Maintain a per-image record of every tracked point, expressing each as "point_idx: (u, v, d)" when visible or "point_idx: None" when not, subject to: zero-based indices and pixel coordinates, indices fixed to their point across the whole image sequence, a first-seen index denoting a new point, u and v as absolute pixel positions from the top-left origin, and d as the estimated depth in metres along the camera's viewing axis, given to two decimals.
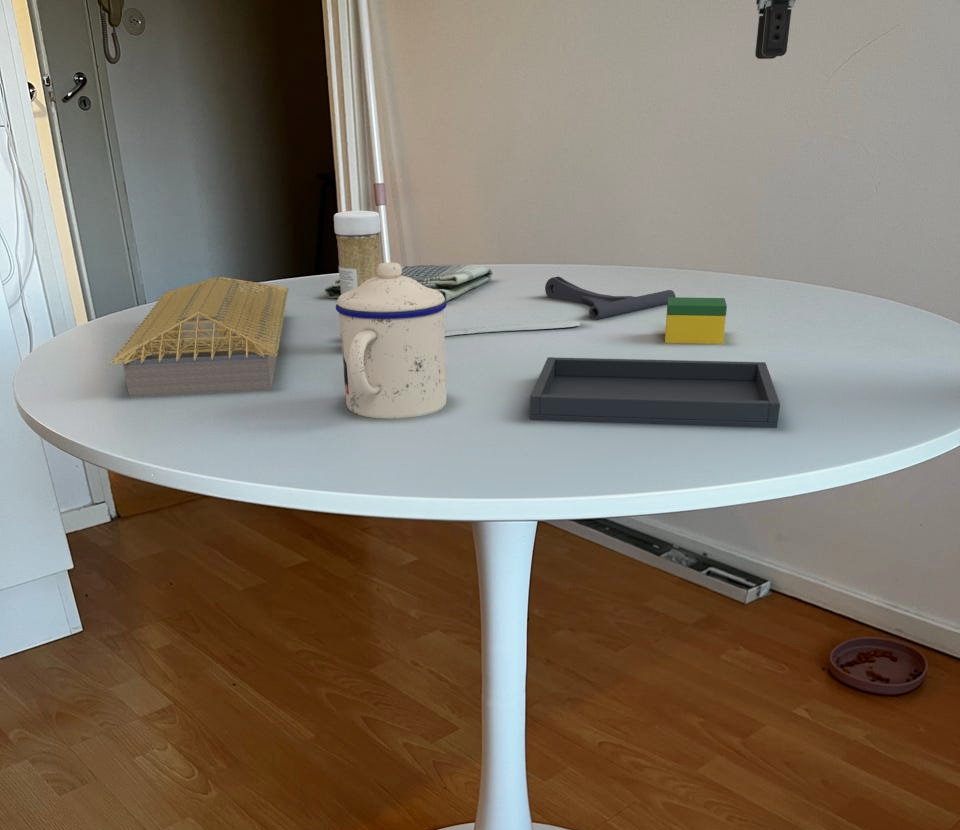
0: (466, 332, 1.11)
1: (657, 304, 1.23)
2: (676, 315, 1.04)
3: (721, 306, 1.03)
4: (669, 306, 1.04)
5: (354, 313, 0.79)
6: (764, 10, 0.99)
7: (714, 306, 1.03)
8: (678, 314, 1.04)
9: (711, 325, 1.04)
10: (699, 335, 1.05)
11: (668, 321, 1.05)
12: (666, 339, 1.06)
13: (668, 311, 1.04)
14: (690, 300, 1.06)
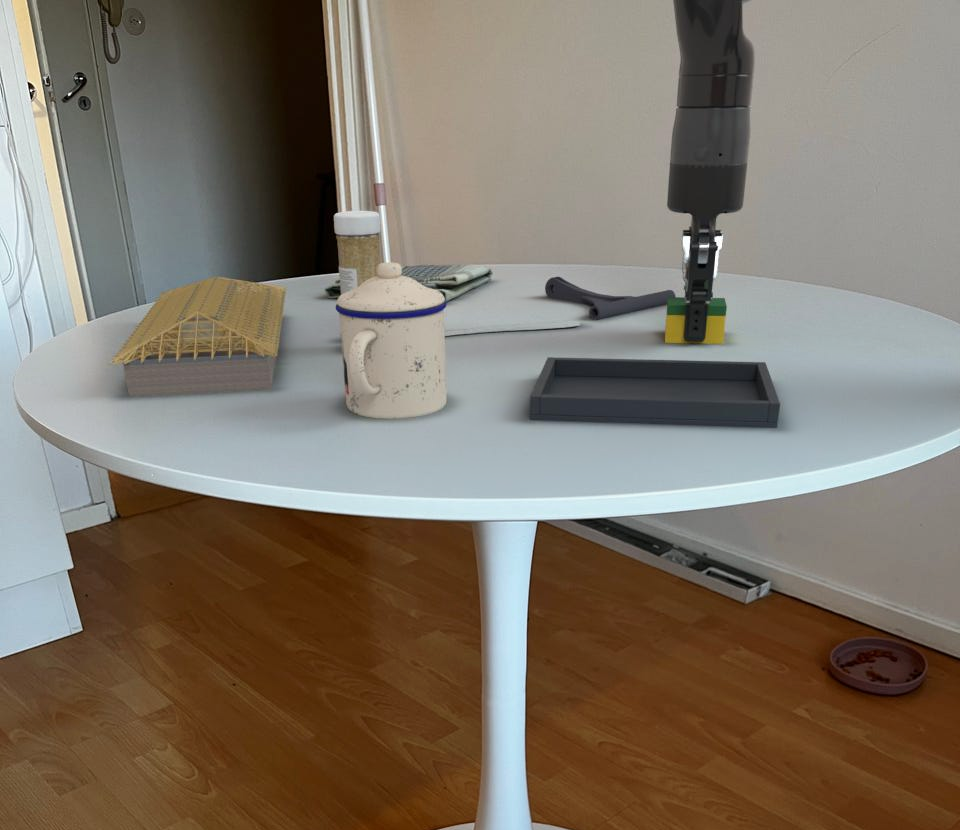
0: (466, 332, 1.11)
1: (657, 304, 1.23)
2: (676, 315, 1.04)
3: (721, 306, 1.03)
4: (669, 306, 1.04)
5: (354, 313, 0.79)
6: None
7: (714, 306, 1.03)
8: (678, 314, 1.04)
9: (711, 325, 1.04)
10: None
11: (668, 321, 1.05)
12: (666, 339, 1.06)
13: (668, 311, 1.04)
14: None
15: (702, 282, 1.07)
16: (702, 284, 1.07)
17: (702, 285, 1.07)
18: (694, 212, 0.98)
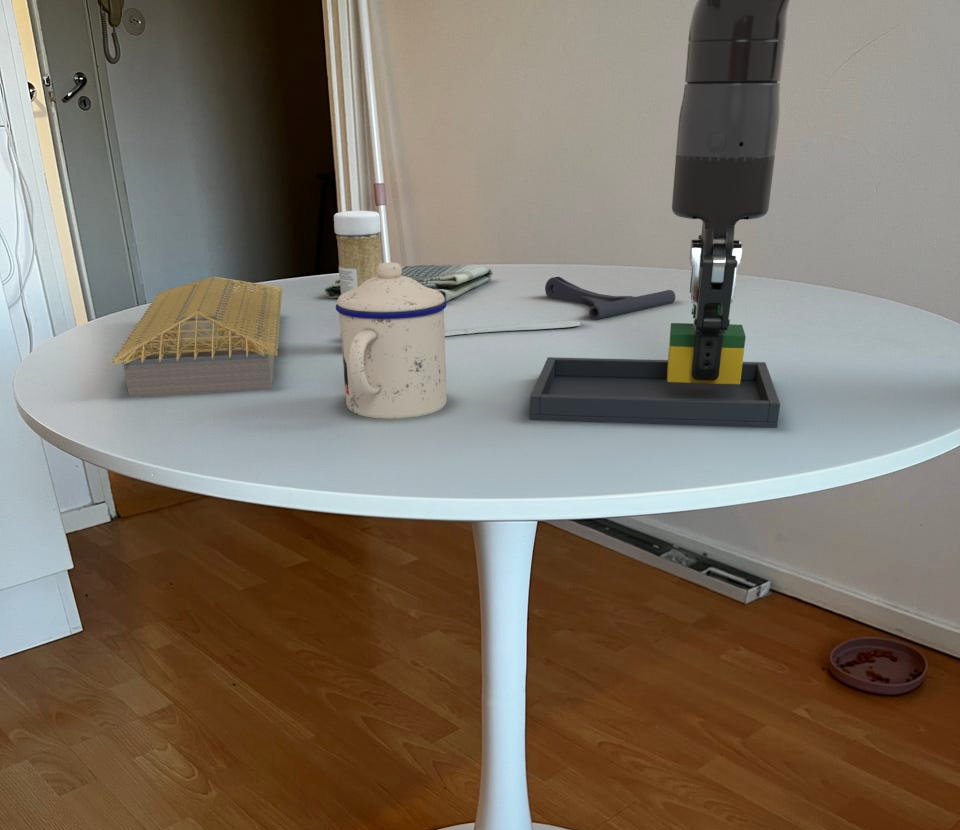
0: (466, 332, 1.11)
1: (657, 304, 1.23)
2: (682, 346, 0.83)
3: (738, 336, 0.82)
4: (673, 335, 0.83)
5: (354, 313, 0.79)
6: None
7: (730, 336, 0.82)
8: (684, 345, 0.83)
9: (725, 359, 0.83)
10: None
11: (671, 354, 0.83)
12: (669, 376, 0.84)
13: (672, 341, 0.83)
14: None
15: (715, 305, 0.86)
16: (715, 307, 0.86)
17: (715, 308, 0.86)
18: (707, 217, 0.77)
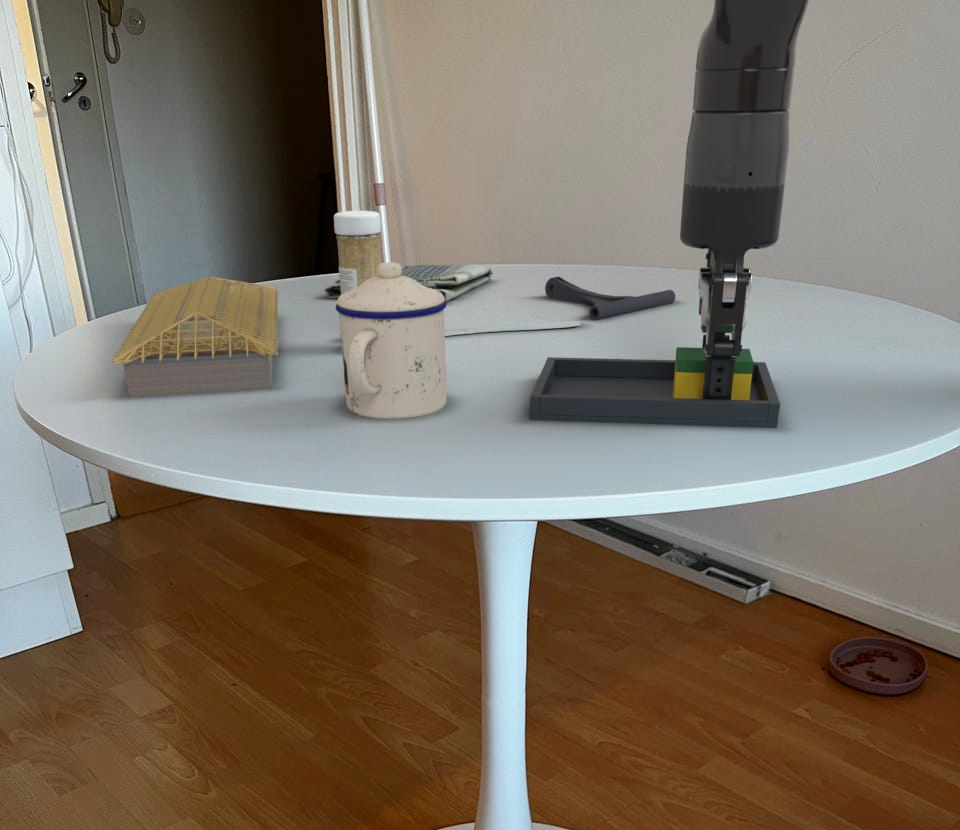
0: (466, 332, 1.11)
1: (657, 304, 1.23)
2: (688, 372, 0.81)
3: (746, 362, 0.80)
4: (679, 361, 0.81)
5: (354, 313, 0.79)
6: None
7: (737, 361, 0.80)
8: (690, 371, 0.81)
9: (733, 385, 0.81)
10: None
11: (677, 380, 0.81)
12: None
13: (677, 367, 0.81)
14: None
15: None
16: None
17: None
18: (716, 248, 0.76)
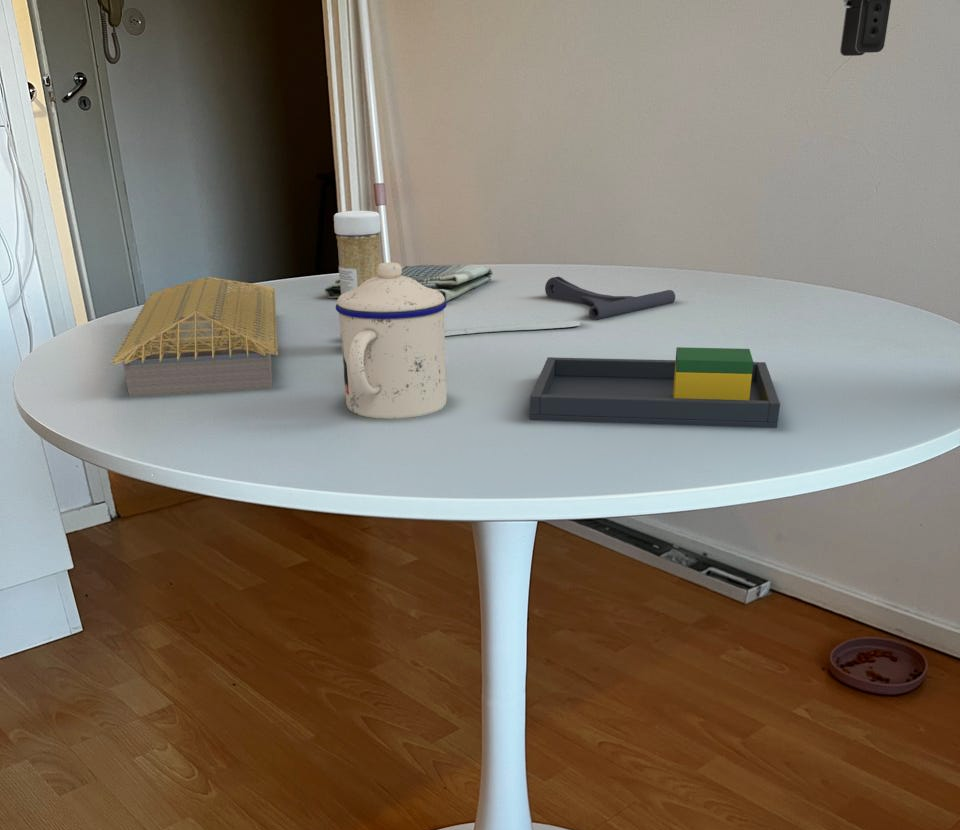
0: (466, 332, 1.11)
1: (657, 304, 1.23)
2: (688, 372, 0.81)
3: (746, 362, 0.80)
4: (679, 361, 0.81)
5: (354, 313, 0.79)
6: (852, 2, 0.90)
7: (737, 361, 0.80)
8: (690, 371, 0.81)
9: (733, 385, 0.81)
10: (717, 397, 0.82)
11: (677, 380, 0.81)
12: None
13: (677, 367, 0.81)
14: (705, 352, 0.83)
15: None
16: None
17: None
18: None
